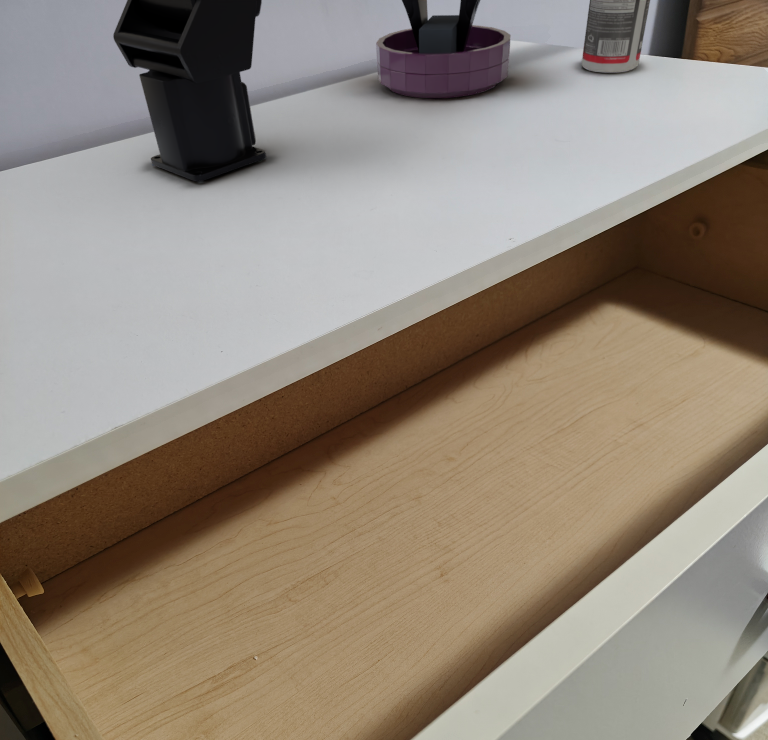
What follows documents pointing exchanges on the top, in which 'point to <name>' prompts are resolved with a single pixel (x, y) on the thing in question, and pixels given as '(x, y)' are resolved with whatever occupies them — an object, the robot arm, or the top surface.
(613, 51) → the pill bottle
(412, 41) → the bowl
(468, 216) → the top surface
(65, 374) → the top surface
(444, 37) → the eraser
